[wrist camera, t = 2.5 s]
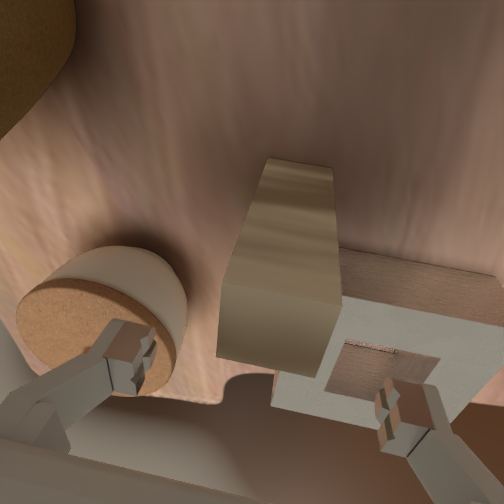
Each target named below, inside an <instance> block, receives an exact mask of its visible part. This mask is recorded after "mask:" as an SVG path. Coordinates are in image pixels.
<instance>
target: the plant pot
mask: <svg viewBox="0 0 504 504" xmlns="http://www.w3.org/2000/svg"><path fill="white" fill-rule="evenodd" d="M75 37H76V13H75V6H74V1H73V0H0V140H1V139H2V138H3V137H4V136H5V135H6V134H7V133H8V132H9V131H10V130H11V129H12V128H13V127H14V126H15V125H16V124H17V123H18V122H19V121H20V120H21V119H22V118H23V116H24V115H25V114H26V113H27V112H28V111H29V110H30V109H31V108H32V107H33V105H34V104H35V103H36V102H37V101H38V100H39V98H40V97H41V96H42V95H43V93H44V92H45V91H46V90H47V88H48V87H49V86H50V84H51V83H52V82H53V80H54V79H55V78H56V76H57V75H58V73H59V72H60V70H61V69H62V67H63V66H64V65H65V63H66V61H67V60H68V58H69V56H70V54H71V52H72V49H73V46H74V42H75Z"/></svg>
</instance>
